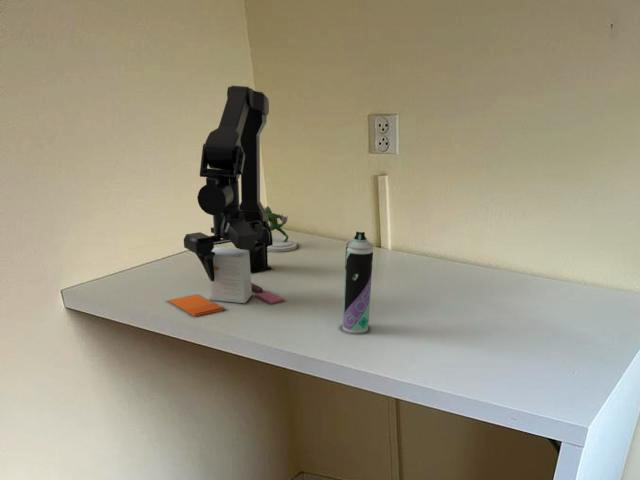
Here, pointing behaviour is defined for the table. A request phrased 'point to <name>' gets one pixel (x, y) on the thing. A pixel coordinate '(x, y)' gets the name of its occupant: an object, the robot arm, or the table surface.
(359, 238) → the spray can
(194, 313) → the orange flat block
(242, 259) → the small box
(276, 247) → the monster figurine
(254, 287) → the spatula
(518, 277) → the table surface
